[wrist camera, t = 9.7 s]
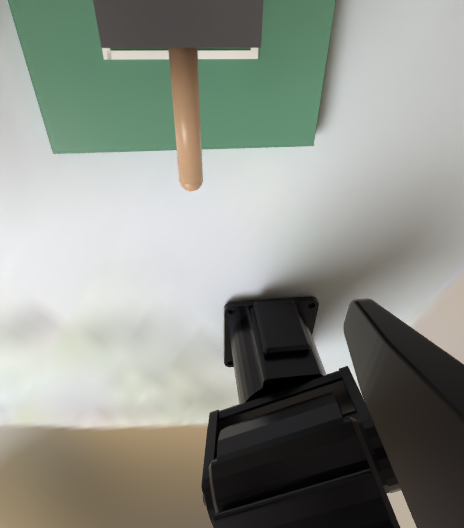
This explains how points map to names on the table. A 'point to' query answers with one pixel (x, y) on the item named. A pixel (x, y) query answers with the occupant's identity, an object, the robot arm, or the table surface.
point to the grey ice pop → (181, 52)
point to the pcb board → (159, 81)
